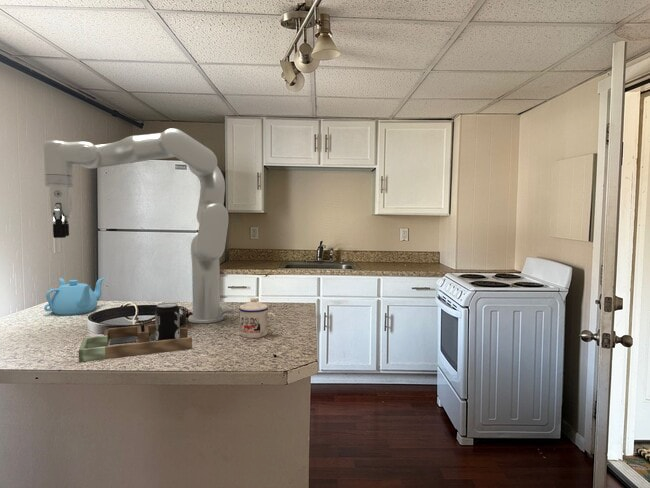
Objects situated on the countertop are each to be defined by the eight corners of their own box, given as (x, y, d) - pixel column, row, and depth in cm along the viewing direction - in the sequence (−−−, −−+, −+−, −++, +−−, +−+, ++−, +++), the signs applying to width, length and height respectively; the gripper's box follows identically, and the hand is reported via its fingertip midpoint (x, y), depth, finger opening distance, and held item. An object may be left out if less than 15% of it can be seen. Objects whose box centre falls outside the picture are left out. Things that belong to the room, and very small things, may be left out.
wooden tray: (184, 330, 138) (184, 321, 138) (192, 348, 120) (191, 338, 120) (86, 340, 126) (86, 330, 126) (79, 361, 108) (78, 350, 108)
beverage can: (172, 349, 119) (171, 307, 118) (151, 347, 120) (150, 306, 119) (184, 342, 125) (183, 302, 124) (164, 340, 127) (163, 301, 126)
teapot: (106, 305, 174) (105, 276, 174) (91, 316, 156) (90, 283, 155) (60, 306, 171) (59, 277, 170) (39, 318, 153) (38, 284, 152)
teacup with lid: (234, 337, 131) (234, 300, 130) (245, 329, 140) (245, 295, 139) (271, 340, 128) (271, 302, 128) (280, 332, 137) (280, 296, 136)
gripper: (70, 180, 124) (73, 238, 125) (75, 183, 140) (77, 235, 141) (40, 179, 121) (43, 238, 122) (49, 183, 136) (51, 235, 138)
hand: (61, 236), depth 132 cm, fingers open, 9 cm apart
